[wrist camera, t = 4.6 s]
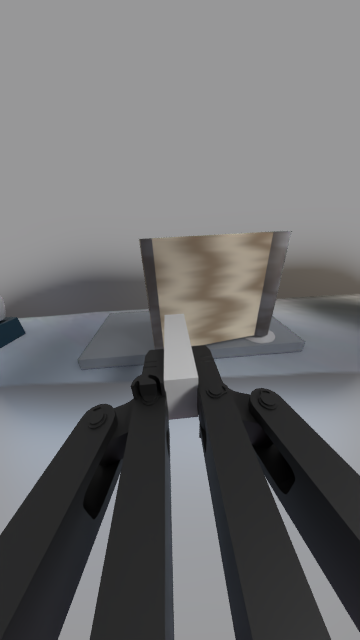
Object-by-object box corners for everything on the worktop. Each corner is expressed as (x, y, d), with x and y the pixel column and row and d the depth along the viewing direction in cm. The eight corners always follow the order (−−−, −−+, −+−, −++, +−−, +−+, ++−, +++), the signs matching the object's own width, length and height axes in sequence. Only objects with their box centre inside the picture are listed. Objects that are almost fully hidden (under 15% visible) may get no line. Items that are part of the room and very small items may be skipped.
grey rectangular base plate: (254, 310, 33) (256, 303, 33) (301, 351, 22) (305, 341, 21) (111, 320, 32) (109, 313, 31) (81, 369, 21) (77, 359, 20)
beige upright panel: (259, 325, 24) (278, 231, 19) (272, 334, 22) (298, 230, 17) (153, 344, 21) (138, 238, 16) (156, 356, 19) (140, 239, 14)
